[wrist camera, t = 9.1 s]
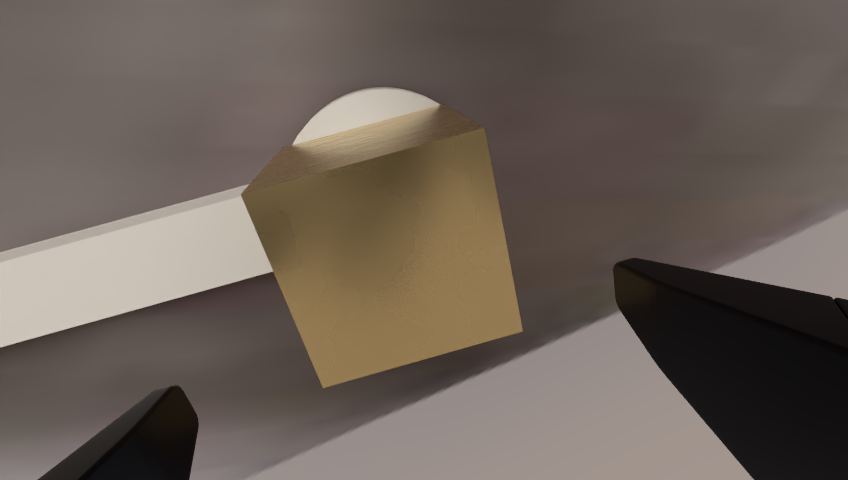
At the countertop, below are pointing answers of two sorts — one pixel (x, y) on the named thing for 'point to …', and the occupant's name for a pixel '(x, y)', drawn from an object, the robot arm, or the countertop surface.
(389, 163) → the tan cardboard cube
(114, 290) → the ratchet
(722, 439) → the robot arm
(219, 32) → the countertop surface
